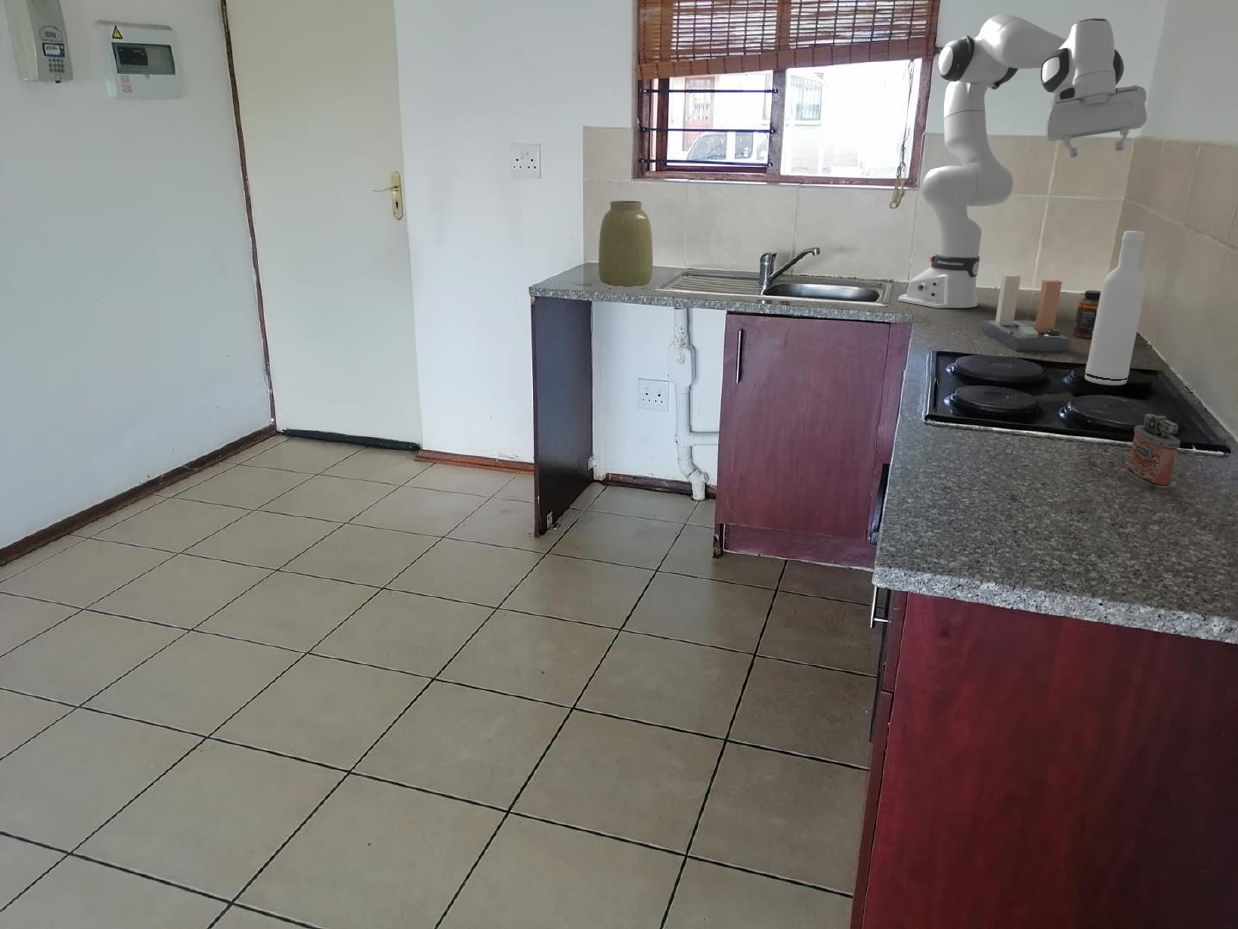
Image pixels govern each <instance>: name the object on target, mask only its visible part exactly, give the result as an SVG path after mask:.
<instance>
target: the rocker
mask: <svg viewBox="0 0 1238 929" xmlns="http://www.w3.org/2000/svg"><path fill="white" fill-rule="evenodd" d="M1018 331H1019V332H1020V333H1021V334H1022V335H1023V336H1024V337H1025V338H1038V335H1039V333H1038V332H1037V331H1036V330H1035V329H1034V328H1033V327H1019V330H1018Z"/></svg>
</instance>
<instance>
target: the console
mask: <svg viewBox="0 0 1238 929" xmlns="http://www.w3.org/2000/svg"><path fill="white" fill-rule="evenodd" d="M995 321H996V320H986V319H985V320H983V322H982V328H981V333H982V334H985V335H987V336H989V337H990V338H992V339H994V340H996V341H997V342H999V343H1001V344H1003V345H1005V346H1006V347H1008V348H1010V349H1011V350H1014V351H1015V352H1068V349H1069V344H1070V338H1069V337H1067V336H1065V335H1063V334H1061V330H1060V329H1055V328H1054V329H1048V330H1046V332H1038V331H1037V332H1038V333H1039V335H1038V338H1025V337H1024V336H1023V335H1022V334H1021V333H1020V332H1019V331H1018V330H1019V327H1033V328H1034V329H1035V323H1036V320H1033V321H1032V320H1014V322H1013V325H999V324H997V323H995Z"/></svg>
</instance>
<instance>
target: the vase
mask: <svg viewBox="0 0 1238 929" xmlns="http://www.w3.org/2000/svg"><path fill="white" fill-rule="evenodd" d="M598 239H599V241H598V276H599V279H600V282H602V283H605V284H608V285H613V286H623V287H633V286H644V285H647V284H648V285H649V284H650V282H651V280H652V276H653V262H654V261H653V260H654V259H653V256H654V255H653V254H654V253H653V252H654V250H653V236H652V228H651V223H650V219H649V217H648V215H647V214H646V212H645V211H644V210H643V209H642V201H637V200H614V201H610V209H609V210H608V211H607V212H606V213H605V214H604V216H603V218H602V220H601V225H600V231H599V238H598ZM602 283H601V284H602ZM645 288H646V289H647V288H648V286H647V287H645ZM609 289H611V288H609ZM641 289H644V288H641Z"/></svg>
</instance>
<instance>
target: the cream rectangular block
mask: <svg viewBox="0 0 1238 929" xmlns="http://www.w3.org/2000/svg"><path fill="white" fill-rule="evenodd" d="M1020 282H1021V275H1018V274H1002V276H1001V282H1000V288H999V289H1000V290H999V296H998V302H997V308H996V315H995V320H994V321H995V323H997V324H999V325H1013V322H1014V321H1015V316H1016V315H1015V314H1016V309H1017V308H1016V307H1017V302H1018V297H1019V290H1020Z"/></svg>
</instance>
